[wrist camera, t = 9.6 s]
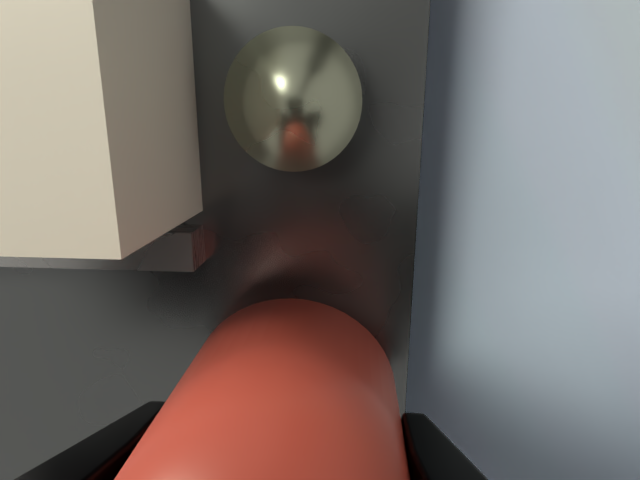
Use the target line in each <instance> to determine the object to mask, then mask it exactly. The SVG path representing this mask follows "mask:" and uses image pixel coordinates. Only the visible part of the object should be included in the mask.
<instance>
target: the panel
mask: <svg viewBox="0 0 640 480" xmlns="http://www.w3.org/2000/svg"><path fill="white" fill-rule="evenodd" d="M190 13H191V29H192V46H193V62H194V78H195V94H196V110H197V126H198V142H199V158H200V174H201V190H202V206H203V211H201V212H200V213H198V214H196V215H195V216H193V217H191V218H190V219H188V220H186V221H185V222H183V223H181V224H180V225H178V226H176V227H175V228H173V229H171V230H170V231H168V232H166V233H165V234H163V235H161V236H160V237H158V238H156V239H155V240H153V241H151V242H150V243H148V244H146V245H145V246H143V247H141V248H140V249H138V250H136V251H135V252H133V253H131V254H130V255H128V256H126V257H125V258H123V259H121V260H118V259H80V258H42V257H3V256H0V480H14V479H16V478H17V477H19V476H21V475H23V474H24V473H26V472H28V471H29V470H31V469H33V468H35V467H36V466H38V465H40V464H42V463H43V462H45V461H47V460H49V459H50V458H52V457H54V456H56V455H57V454H59V453H61V452H62V451H64V450H66V449H68V448H69V447H71V446H73V445H75V444H76V443H78V442H80V441H82V440H83V439H85V438H87V437H89V436H90V435H92V434H94V433H95V432H97V431H99V430H101V429H102V428H104V427H106V426H108V425H109V424H111V423H113V422H115V421H116V420H118V419H120V418H122V417H123V416H125V415H127V414H128V413H130V412H132V411H134V410H135V409H137V408H139V407H141V406H142V405H144V404H146V403H148V402H150V401H163V402H166V400H167V399H168V397H169V396H170V394H171V393H172V391H173V390H174V388H175V387H176V385H177V384H178V382H179V381H180V379H181V378H182V376H183V375H184V373H185V372H186V370H187V369H188V367H189V366H190V364H191V363H192V361H193V359H194V358H195V356H196V355H197V353H198V352H199V350H200V349H201V347H202V346H203V344H204V343H205V341H206V340H207V338H208V337H209V335H210V334H211V333H212V332H213V331H214V330H215V328H216V327H217V326H218V325H219V324H220V323H222V322H223V321H224V320H225V319H226V318H228V317H229V316H231V315H232V314H234V313H236V312H237V311H239V310H241V309H243V308H245V307H248V306H250V305H252V304H256V303H259V302H263V301H267V300H274V299H288V298H293V299H304V300H310V301H315V302H319V303H322V304H325V305H328V306H331V307H334V308H336V309H338V310H340V311H342V312H344V313H346V314H347V315H349V316H350V317H352V318H353V319H355V320H356V321H358V322H359V323H360V324H361V325H362V326H364V327H365V328H366V329H367V330H368V331H369V332H370V333H371V334H372V335H373V336H374V338H375V339H376V340H377V341H378V343H379V344H380V346H381V347H382V349H383V350H384V352H385V354H386V356H387V358H388V360H389V362H390V365H391V368H392V371H393V375H394V381H395V387H396V393H397V399H398V405H399V411H400V417H401V416H402V414H403V413H405V403H406V387H407V371H408V354H409V338H410V322H411V306H412V290H413V274H414V257H415V241H416V225H417V209H418V193H419V176H420V160H421V144H422V128H423V112H424V95H425V79H426V63H427V47H428V31H429V14H430V0H190Z"/></svg>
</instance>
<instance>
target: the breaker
mask: <svg viewBox="0 0 640 480" xmlns="http://www.w3.org/2000/svg"><path fill="white" fill-rule="evenodd" d="M201 211H203V206H202V190H201V174H200V158H199V142H198V126H197V110H196V94H195V78H194V62H193V46H192V29H191V13H190V0H0V256H3V257H42V258H80V259H118V260H121V259H123V258H125V257H126V256H128V255H130V254H131V253H133V252H135V251H136V250H138V249H140V248H141V247H143V246H145V245H146V244H148V243H150V242H151V241H153V240H155V239H156V238H158V237H160V236H161V235H163V234H165V233H166V232H168V231H170V230H171V229H173V228H175V227H176V226H178V225H180V224H181V223H183V222H185V221H186V220H188V219H190V218H191V217H193V216H195V215H196V214H198V213H200V212H201Z"/></svg>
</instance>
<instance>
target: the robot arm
mask: <svg viewBox="0 0 640 480" xmlns="http://www.w3.org/2000/svg"><path fill="white" fill-rule="evenodd" d="M164 403H165V402H163V401H150V402H148V403H146V404H144V405H142V406H141V407H139V408H137V409H135V410H134V411H132V412H130V413H128V414H127V415H125V416H123V417H122V418H120V419H118V420H116V421H115V422H113V423H111V424H109V425H108V426H106V427H104V428H102V429H101V430H99V431H97V432H95V433H94V434H92V435H90V436H89V437H87V438H85V439H83V440H82V441H80V442H78V443H76V444H75V445H73V446H71V447H69V448H68V449H66V450H64V451H62V452H61V453H59V454H57V455H56V456H54V457H52V458H50V459H49V460H47V461H45V462H43V463H42V464H40V465H38V466H36V467H35V468H33V469H31V470H29V471H28V472H26V473H24V474H23V475H21V476H19V477H17V478H16V479H14V480H114V479H115V477H116V476H117V474H118V473H119V471H120V470H121V468H122V467H123V465H124V464H125V462H126V461H127V459H128V458H129V456H130V455H131V453H132V452H133V450H134V449H135V447H136V446H137V444H138V443H139V441H140V439H141V438H142V436H143V435H144V433H145V432H146V430H147V429H148V427H149V426H150V424H151V423H152V421H153V420H154V418H155V417H156V415H157V414H158V412H159V411H160V409H161V408H162V406H163V405H164ZM401 423H402V429H403V435H404V441H405V447H406V453H407V459H408V466H409V472H410V478H411V480H488V479H487V478H486V477H485V476H484V475H483V474H482V473H481V472H480V471H479V470H478V469H477V468H476V467H475V466H474V465H473V464H472V463H471V462H470V461H469V460H468V458H467V457H466V456H465V455H464V454H463V453H462V452H461V451H460V450H459V449H458V448H457V447H456V446H455V445H454V444H453V443H452V442H451V441H450V440H449V439H448V438H447V437H446V436H445V435H444V434H443V433H442V432H441V431H440V430H439V429H438V428H437V427H436V426H435V425H434V423H433V422H432V421H431V420H430V419H429V418H428V417H427V416H426V415H424V414H422V413H403V414H402V416H401Z"/></svg>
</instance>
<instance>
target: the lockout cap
mask: <svg viewBox="0 0 640 480" xmlns="http://www.w3.org/2000/svg"><path fill="white" fill-rule="evenodd" d="M114 480H411V478H410V472H409V466H408V459H407V453H406V447H405V441H404V435H403V429H402V423H401V417H400V411H399V405H398V399H397V393H396V387H395V381H394V375H393V371H392V368H391V365H390V362H389V360H388V358H387V356H386V354H385V352H384V350H383V349H382V347H381V346H380V344H379V343H378V341H377V340H376V339H375V338H374V336H373V335H372V334H371V333H370V332H369V331H368V330H367V329H366V328H365V327H364V326H362V325H361V324H360V323H359V322H358V321H356V320H355V319H353V318H352V317H350V316H349V315H347V314H346V313H344V312H342V311H340V310H338V309H336V308H334V307H331V306H328V305H325V304H322V303H319V302H315V301H310V300H304V299H293V298H288V299H274V300H267V301H263V302H259V303H256V304H252V305H250V306H248V307H245V308H243V309H241V310H239V311H237V312H236V313H234V314H232V315H231V316H229V317H228V318H226V319H225V320H224V321H223V322H222V323H220V324H219V325H218V326H217V327H216V328H215V330H214V331H213V332H212V333H211V334H210V335H209V337H208V338H207V340H206V341H205V343H204V344H203V346H202V347H201V349H200V350H199V352H198V353H197V355H196V356H195V358H194V359H193V361H192V363H191V364H190V366H189V367H188V369H187V370H186V372H185V373H184V375H183V376H182V378H181V379H180V381H179V382H178V384H177V385H176V387H175V388H174V390H173V391H172V393H171V394H170V396H169V397H168V399H167V400H166V402H165V403H164V405H163V406H162V408H161V409H160V411H159V412H158V414H157V415H156V417H155V418H154V420H153V421H152V423H151V424H150V426H149V427H148V429H147V430H146V432H145V433H144V435H143V436H142V438H141V439H140V441H139V443H138V444H137V446H136V447H135V449H134V450H133V452H132V453H131V455H130V456H129V458H128V459H127V461H126V462H125V464H124V465H123V467H122V468H121V470H120V471H119V473H118V474H117V476H116V477H115V479H114Z"/></svg>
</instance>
